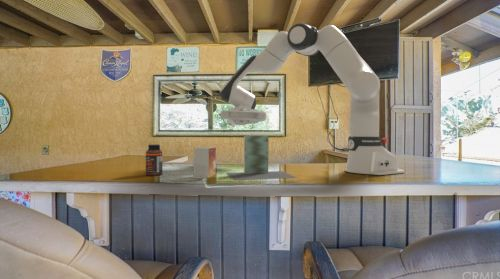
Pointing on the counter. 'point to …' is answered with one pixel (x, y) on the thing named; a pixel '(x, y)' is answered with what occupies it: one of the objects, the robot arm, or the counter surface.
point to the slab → (255, 154)
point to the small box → (204, 162)
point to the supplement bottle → (153, 160)
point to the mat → (260, 175)
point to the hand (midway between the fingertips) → (247, 114)
